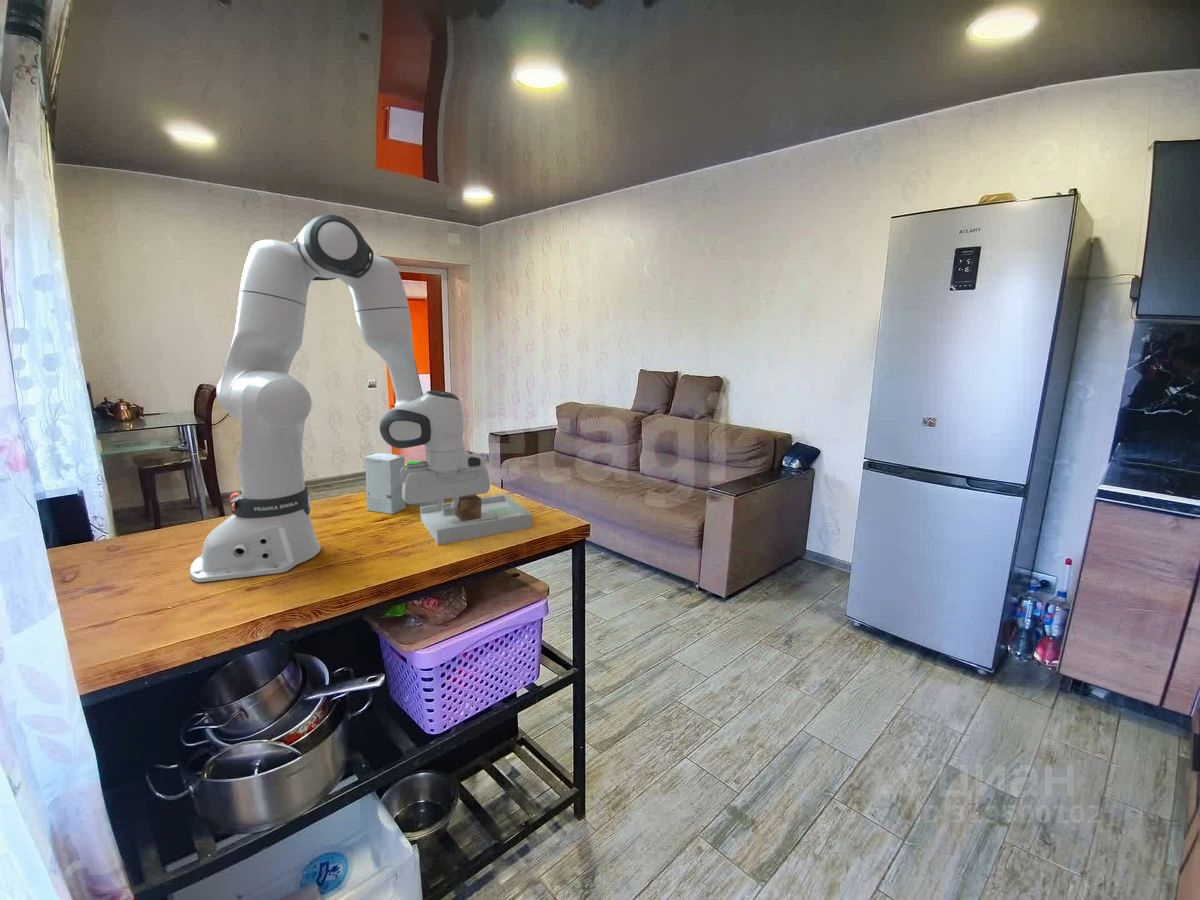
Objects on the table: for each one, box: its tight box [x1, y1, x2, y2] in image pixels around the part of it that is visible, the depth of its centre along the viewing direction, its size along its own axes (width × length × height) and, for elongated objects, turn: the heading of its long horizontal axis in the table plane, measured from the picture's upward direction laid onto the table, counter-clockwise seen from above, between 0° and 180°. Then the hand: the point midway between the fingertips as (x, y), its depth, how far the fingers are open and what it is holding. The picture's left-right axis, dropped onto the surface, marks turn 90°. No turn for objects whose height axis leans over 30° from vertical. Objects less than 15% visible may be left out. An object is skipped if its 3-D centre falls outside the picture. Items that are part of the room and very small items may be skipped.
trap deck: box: [419, 493, 533, 545], centre depth 129 cm, size 23×18×4 cm
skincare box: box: [364, 452, 406, 515], centre depth 136 cm, size 8×6×15 cm
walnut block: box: [455, 494, 482, 521], centre depth 128 cm, size 5×5×5 cm
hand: (448, 514), depth 125 cm, fingers closed
